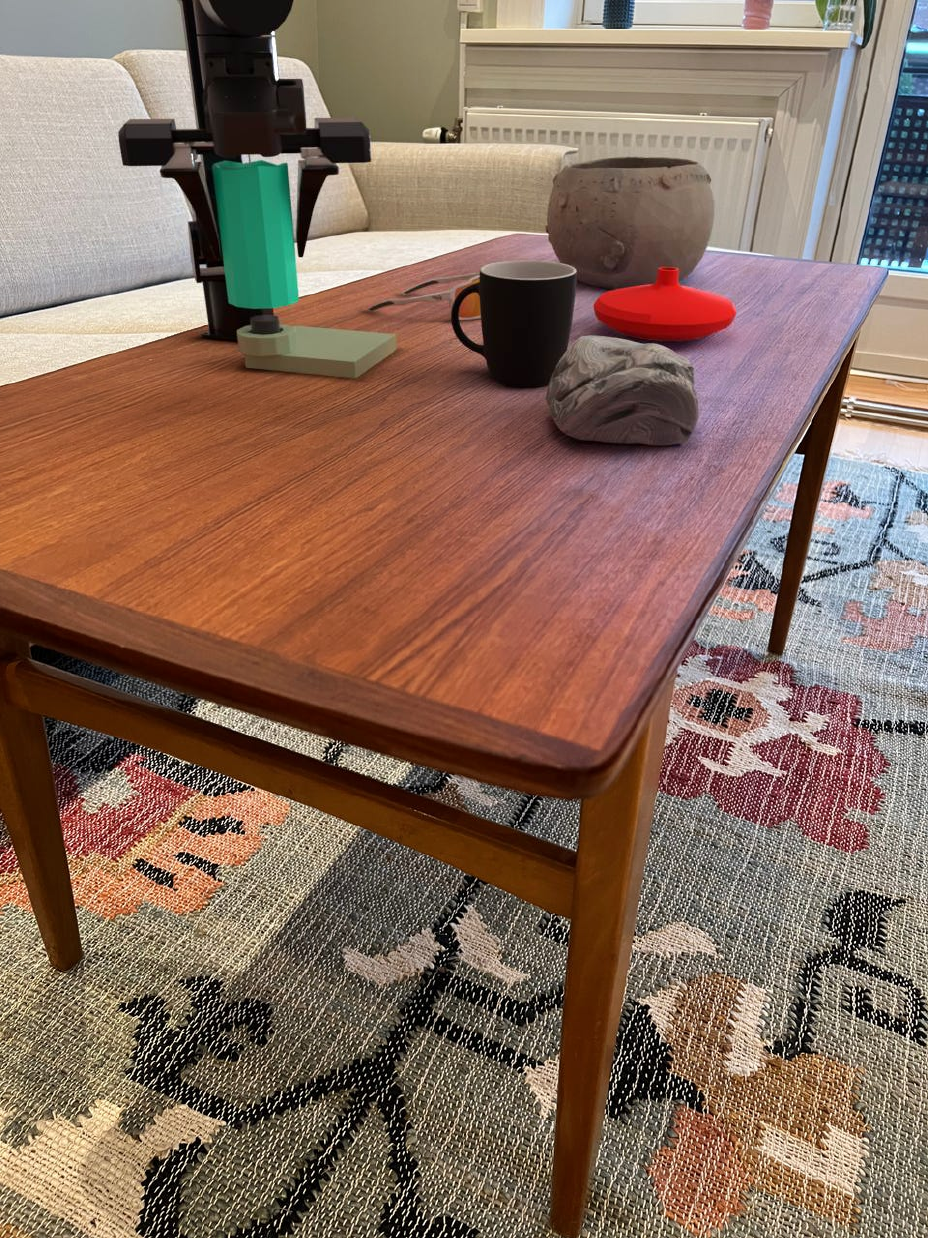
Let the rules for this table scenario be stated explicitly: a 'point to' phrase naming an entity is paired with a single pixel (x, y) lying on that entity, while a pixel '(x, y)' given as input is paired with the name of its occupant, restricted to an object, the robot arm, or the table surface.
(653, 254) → the bowl
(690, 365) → the decorative stone
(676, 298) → the red vase
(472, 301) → the sunglasses
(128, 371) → the table surface
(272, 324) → the button
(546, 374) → the mug
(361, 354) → the khaki base plate
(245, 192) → the candle
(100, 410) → the table surface
